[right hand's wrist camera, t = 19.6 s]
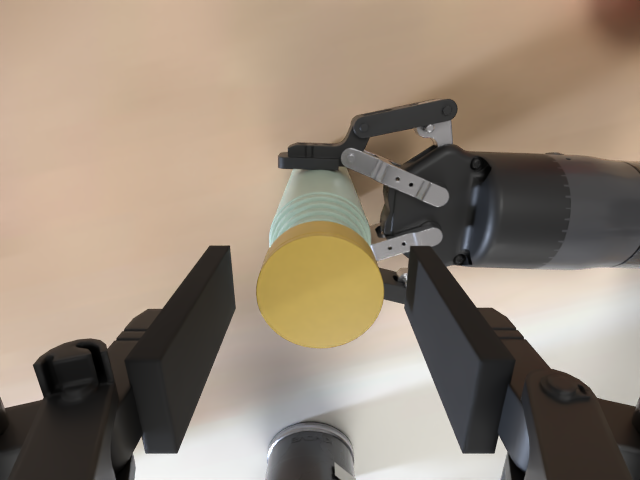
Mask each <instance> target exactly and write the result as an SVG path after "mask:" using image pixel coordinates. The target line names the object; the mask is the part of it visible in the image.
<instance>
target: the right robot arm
mask: <svg viewBox="0 0 640 480" xmlns="http://www.w3.org/2000/svg"><path fill="white" fill-rule="evenodd" d="M235 309H236V307H235V296H234V285H233V275H232V264H231V253H230V246H209V247H208V249H207V250H206V251H205V253H204V254H203V255H202V257H201V258H200V259H199V261H198V262H197V263H196V265H195V266H194V267H193V269H192V270H191V271H190V273H189V274H188V275H187V277H186V278H185V279H184V281H183V282H182V283H181V285H180V286H179V287H178V289H177V290H176V291H175V293H174V294H173V295H172V297H171V298H170V299H169V301H168V302H167V303H166V305H165V306H164V307H163V309H147V310H146V311H144V312H143V313H141V314H140V315H138V316H136V317H135V318H133V320H132V321H131V322H130V323H129V324H128V325H127V327H126V328H125V329H124V331H122V332H121V334H120V335H119V336H118V337H117V340H116V341H114V342H113V343H112V344H111V345H110V347H109V348H108V349H107V347H106V344H105V343H103V342H102V341H101V340H96V339H79V340H75V341H71V342H67V343H64V344H62V345H60V346H57V347H55V348H53V349H51V350H49V351H48V352H46V353H45V354H43V355H42V356H41V357H39V359H38V360H37V361H36V362H35V363H34V364H33V367H34V370H35V373H36V376H37V379H38V382H39V384H40V387H41V390H42V393H43V396H44V398H43V400H40V401H36V402H31V403H26V404H22V405H17V406H13V407H8V408H4V405H3V403H2V400H1V398H0V480H134V478H135V468H136V467H135V460H134V456H133V451H134V449H135V448H136V446H137V444H138V442H139V440H140V438H141V436H142V440H143V444H144V449H145V453H178V450H179V448H180V445H181V443H182V440H183V438H184V436H185V433H186V431H187V428H188V426H189V423H190V421H191V418H192V416H193V413H194V411H195V408H196V406H197V403H198V401H199V398H200V396H201V393H202V391H203V388H204V386H205V383H206V381H207V378H208V376H209V373H210V371H211V368H212V366H213V363H214V361H215V358H216V356H217V353H218V351H219V348H220V346H221V343H222V341H223V339H224V336H225V334H226V331H227V329H228V326H229V324H230V321H231V319H232V316H233V314H234V311H235ZM404 309H405V311H406V314H407V316H408V319H409V321H410V324H411V326H412V329H413V331H414V334H415V336H416V339H417V341H418V343H419V346H420V348H421V351H422V353H423V356H424V358H425V361H426V363H427V366H428V368H429V371H430V373H431V376H432V378H433V381H434V383H435V386H436V388H437V391H438V393H439V396H440V398H441V401H442V403H443V406H444V408H445V411H446V413H447V416H448V418H449V421H450V423H451V426H452V428H453V431H454V433H455V436H456V438H457V440H458V443H459V445H460V448H461V450H462V453H495V449H496V444H497V440H498V436H500V438H501V440H502V442H503V444H504V446H505V447H506V449H507V451H508V452H507V456H506V460H505V464H504V468H503V472H502V476H501V480H640V398H639V400H638V403H637V405H636V407H635V406H630V405H626V404H621V403H617V402H612V401H607V400H603V399H599V398H597V397H596V396H595V394H594V393H593V392H592V390H591V389H590V388H589V387H588V386H587V385H585V384H584V383H583V382H582V381H580V380H579V379H577V378H575V377H573V376H571V375H569V374H567V373H564V372H561V371H558V370H554V369H551V368H550V367H549V366H548V365H547V364H546V362H545V361H544V360H543V359H542V358H541V357H540V355H539V354H538V353H537V352H536V351H535V350H534V348H533V347H532V346H531V345H530V344H529V343H528V341H527V340H526V339H524V337H523V336H522V334H521V333H520V332H519V331H518V330H516V327H515V326H514V325H513V324H512V323H511V322H510V320H509V319H508V318H507V317H506V316H504V315H503V314H501V313H499V312H498V311H496V310H495V309H493V308H477V307H476V306H475V305H474V303H473V302H472V301H471V299H470V298H469V297H468V295H467V294H466V293H465V291H464V290H463V289H462V287H461V286H460V285H459V283H458V282H457V281H456V279H455V278H454V277H453V275H452V274H451V273H450V271H449V270H448V269H447V267H446V266H445V265H444V263H443V262H442V261H441V259H440V258H439V257H438V255H437V254H436V253H435V251H434V250H433V249H432V247H431V246H410V253H409V264H408V275H407V285H406V296H405V307H404Z"/></svg>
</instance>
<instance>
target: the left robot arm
mask: <svg viewBox="0 0 640 480" xmlns="http://www.w3.org/2000/svg"><path fill="white" fill-rule="evenodd" d="M456 113H457V105H456V103H455V102H454V101H453V100H451V99H433V100H428V101H423V102H418V103H413V104H409V105H404V106H399V107H394V108H390V109H385V110H380V111H375V112H371V113H366V114H361V115H357V116H355V117H354V118H353V119H352V121H351V125H350V128H349V130H348V133H347V135H346V137H345V139H344V140H343V141H341V142H340V143H337V144H328V143H301V142H297V143H295V144H292V145H290V146H289V147H288V152H283V153H280V154H279V155H278V168H282V169H306V170H334V171H339V167H347V168H349V169H351V170H354V171H356V172H359V173H361V174H363V175H366V176H368V177H370V178H372V179H374V180H376V181H378V182H380V183H382V184H384V186H383V195H384V201H385V204H384V207H383V210H382V212H381V217H380V223H378V224H375V225H372V226H369V227H370V232H371V249H372V251H373V253H374V256H375V258H376V261H379V260H383V259H386V258H389V257H393V256H396V255H399V254H404V255H405V256H406V257H408V258H409V253H410V246H431V247H432V249H433V250H434V251H435V253H436V254H437V255H438V257H439V258H440V259H441V261H442V262H443V263H444V265H445V266H446V267H447V266H451V265H460V266H467V267H487V268H518V269H551V270H579V269H588V268H601V267H609V268H640V161H613V160H606V159H601V158H596V157H589V156H579V155H564V154H560V153H545V154H529V153H501V152H472V151H465V150H463V149H461V148H460V147H459V146H457V145H454V144H453V139H452V125H451V119H453V118H454V117H455V115H456ZM412 128H413V129H414V132H415V133H416V134H417V135H418V136H421V137H424V138H431V139H432V141H433V144H434V145H432V146H431V147H429V148H428V149H426V150H424V151H423V152H421V153H420V154H418V155H417V156H415V157H414V158H412V159H410V160H409V161H407V162H406V163H404V164H403V165H401V164H398V163H396V162H394V161H391V160H389V159H387V158H384V157H382V156H380V155H377V154H374V153H371V152H369V151H367V150H364V149H365V147H366V145H367V142H368V140H369V138H370V137H373V136H378V135H383V134H387V133H392V132H397V131H402V130H407V129H412ZM382 231H383V232H382ZM379 270H380V273H381V276H382V279H383V285H384V299H385V300H389V301H393V302H398V303H402V304H405V296H406V285H407V275H408V268H400V269H399V270H398V271H397V272H394V271H390V270H386V269H382V268H379ZM265 480H356V479H355V477H354V456H353V448H352V445H351V443H350V441H349V439H348V438H347V437H346V436H345V435H344V434H343V433H342V432H341V431H339V430H338V429H336V428H334V427H332V426H329V425H326V424H322V423H314V422H307V423H299V424H295V425H292V426H289V427H287V428H285V429H283V430H282V431H280V432H279V433H278V434H277V435H276V436H275V437H274V438H273V440H272V441H271V443H270V446H269V451H268V457H267V471H266V478H265Z"/></svg>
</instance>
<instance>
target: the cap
mask: <svg viewBox="0 0 640 480" xmlns="http://www.w3.org/2000/svg"><path fill="white" fill-rule="evenodd" d="M256 296H257V303H258V306H259V309H260V312H261V314H262V316H263V318H264V319H265V321H266V322H267V324H268V325H269V326H270V327H271V328H272V329H273V330H274V331H275V332H276V333H277V334H278V335H280V336H281V337H283V338H284V339H286V340H288V341H290V342H292V343H295V344H297V345H301V346H304V347H310V348H330V347H336V346H340V345H343V344H346V343H348V342H351V341H352V340H354V339H356V338H358V337H359V336H361V335H362V334H363V333H364V332H365V331H367V330H368V329H369V328H370V326H371V325H372V324H373V323H374V321H375V320H376V318H377V317H378V315H379V312H380V310H381V307H382V304H383V299H384V285H383V279H382V276H381V273H380V270H379V267H378V264H377V261H376V258H375V256H374V253H373V251H372V249H371V248H370V246H369V245H368V243H367V242H366V241H365V240H364V239H363V238H362V237H361V236H360V235H359V234H358V233H357V232H355V231H354V230H352V229H350V228H348V227H346V226H344V225H341V224H338V223H335V222H330V221H311V222H305V223H302V224H299V225H296V226H294V227H292V228H290V229H288V230H287V231H285V232H284V233H283V234H281V235H280V236H279V237H278V238H277V239H276V240H275V241H274V242H273V244H272V245H271V247H270V248H269V250H268V252H267V254H266V257H265V259H264V262H263V265H262V268H261V271H260V274H259V277H258V281H257V287H256Z"/></svg>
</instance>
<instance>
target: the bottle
mask: <svg viewBox="0 0 640 480" xmlns="http://www.w3.org/2000/svg"><path fill="white" fill-rule="evenodd" d="M311 221H330V222H335V223H338V224H341V225H344V226H346V227H348V228H350V229H352V230H354V231H355V232H357V233H358V234H359V235H360V236H361V237H362V238H363V239H364V240H365V241H366V242H367V243H368V245H369V246H370V248H371V232H370V227H369V224H368V221H367V219H366V216H365V214H364V211H363V208H362V206H361V203H360V201H359V198H358V195H357V193H356V190H355V188H354V185H353V182H352V180H351V177H350V175H349V172H348V170H347V168H346V167H339V171H334V170H306V169H293V171H292V173H291V176H290V178H289V181H288V183H287V186H286V189H285V191H284V194H283V196H282V199H281V202H280V204H279V207H278V209H277V212H276V215H275V217H274V220H273V222H272V225H271V229H270V234H269V243H270V247H271V245H272V244H273V242H274V241H275V240H276V239H277V238H278V237H279V236H280V235H281V234H283V233H284V232H285V231H287V230H288V229H290V228H292V227H294V226H296V225H299V224H302V223H305V222H311Z"/></svg>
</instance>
